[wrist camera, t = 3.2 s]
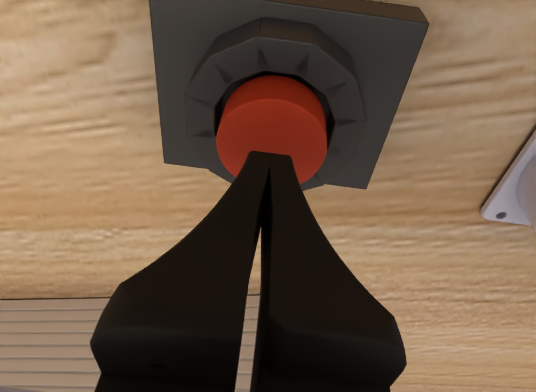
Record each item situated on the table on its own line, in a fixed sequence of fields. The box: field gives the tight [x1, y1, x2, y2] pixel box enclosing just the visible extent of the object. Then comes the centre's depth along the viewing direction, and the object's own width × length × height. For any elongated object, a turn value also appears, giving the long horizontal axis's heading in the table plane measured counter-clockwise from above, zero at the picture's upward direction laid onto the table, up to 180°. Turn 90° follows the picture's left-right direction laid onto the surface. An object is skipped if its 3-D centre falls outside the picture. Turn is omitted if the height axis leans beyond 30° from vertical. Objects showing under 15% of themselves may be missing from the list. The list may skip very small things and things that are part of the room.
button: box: [216, 75, 327, 184], centre depth 15 cm, size 4×4×2 cm
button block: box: [149, 0, 429, 191], centre depth 16 cm, size 10×8×4 cm
